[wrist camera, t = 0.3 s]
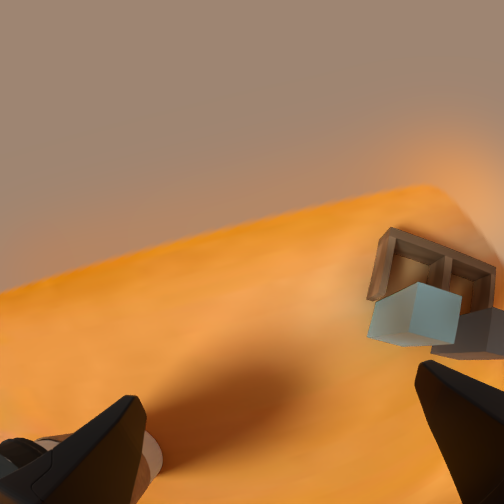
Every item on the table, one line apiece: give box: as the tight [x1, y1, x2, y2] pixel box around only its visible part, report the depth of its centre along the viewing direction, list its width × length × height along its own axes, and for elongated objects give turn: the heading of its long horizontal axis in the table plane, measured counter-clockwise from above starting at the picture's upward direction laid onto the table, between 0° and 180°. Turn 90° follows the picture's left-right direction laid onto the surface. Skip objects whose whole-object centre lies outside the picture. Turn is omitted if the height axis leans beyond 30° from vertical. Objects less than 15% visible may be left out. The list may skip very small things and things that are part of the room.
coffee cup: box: [0, 431, 163, 504], centre depth 13 cm, size 8×8×15 cm
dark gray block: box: [431, 307, 504, 360], centre depth 17 cm, size 3×4×8 cm
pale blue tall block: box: [367, 282, 462, 347], centre depth 18 cm, size 3×4×8 cm
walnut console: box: [366, 227, 496, 313], centre depth 21 cm, size 6×12×3 cm, turn 71°
